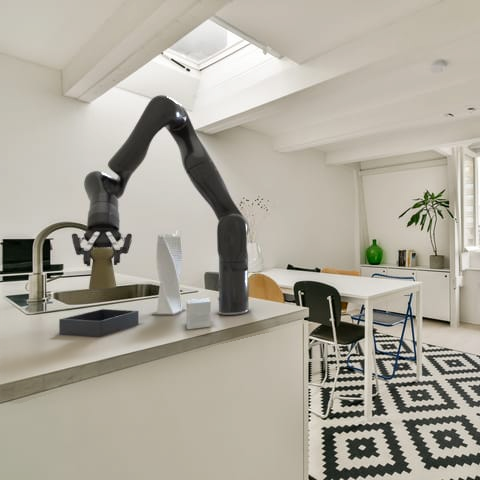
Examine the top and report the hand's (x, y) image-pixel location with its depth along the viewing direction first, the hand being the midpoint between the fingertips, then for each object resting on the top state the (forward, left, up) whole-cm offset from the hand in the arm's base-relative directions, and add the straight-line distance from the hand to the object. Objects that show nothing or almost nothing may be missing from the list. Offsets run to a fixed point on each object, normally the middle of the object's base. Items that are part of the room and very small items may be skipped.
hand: (102, 263), depth 90 cm
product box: (-9, +22, -18) cm, 30 cm away
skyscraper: (-21, +3, -18) cm, 28 cm away
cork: (-1, -1, -7) cm, 7 cm away
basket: (-1, -2, -18) cm, 18 cm away
